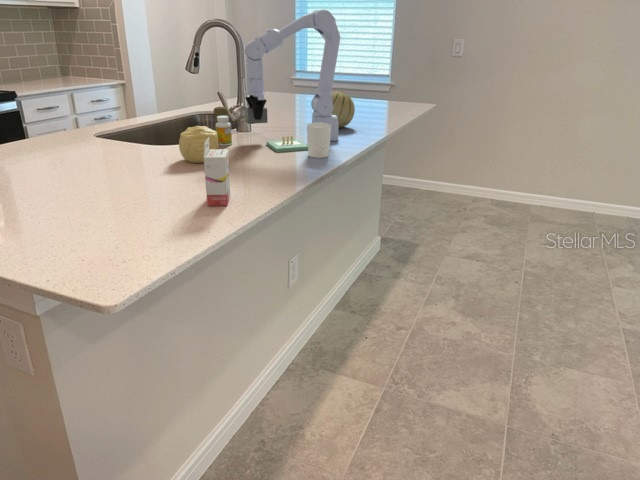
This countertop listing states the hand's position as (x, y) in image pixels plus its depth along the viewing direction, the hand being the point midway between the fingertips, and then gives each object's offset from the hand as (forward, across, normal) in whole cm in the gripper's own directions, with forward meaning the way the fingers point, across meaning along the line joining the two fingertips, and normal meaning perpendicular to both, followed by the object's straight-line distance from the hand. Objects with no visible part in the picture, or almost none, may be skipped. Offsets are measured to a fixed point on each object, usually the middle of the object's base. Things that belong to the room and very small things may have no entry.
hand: (256, 118), depth 177 cm
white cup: (+9, +26, +14) cm, 31 cm away
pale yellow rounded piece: (+9, +21, -24) cm, 33 cm away
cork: (+9, -12, -10) cm, 18 cm away
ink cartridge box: (+9, +61, -26) cm, 67 cm away
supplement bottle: (+9, +1, -12) cm, 15 cm away
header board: (+8, +12, +8) cm, 16 cm away
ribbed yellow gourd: (+9, -16, +39) cm, 43 cm away
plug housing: (+1, 0, 0) cm, 1 cm away
